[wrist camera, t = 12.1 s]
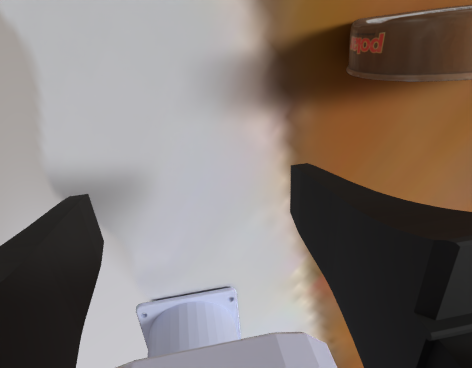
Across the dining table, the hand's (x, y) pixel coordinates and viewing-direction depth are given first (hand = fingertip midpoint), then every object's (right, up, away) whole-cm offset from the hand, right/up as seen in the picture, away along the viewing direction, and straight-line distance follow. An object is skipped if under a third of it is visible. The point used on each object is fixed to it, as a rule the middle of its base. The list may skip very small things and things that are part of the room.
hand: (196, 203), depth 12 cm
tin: (+14, +10, +8) cm, 19 cm away
